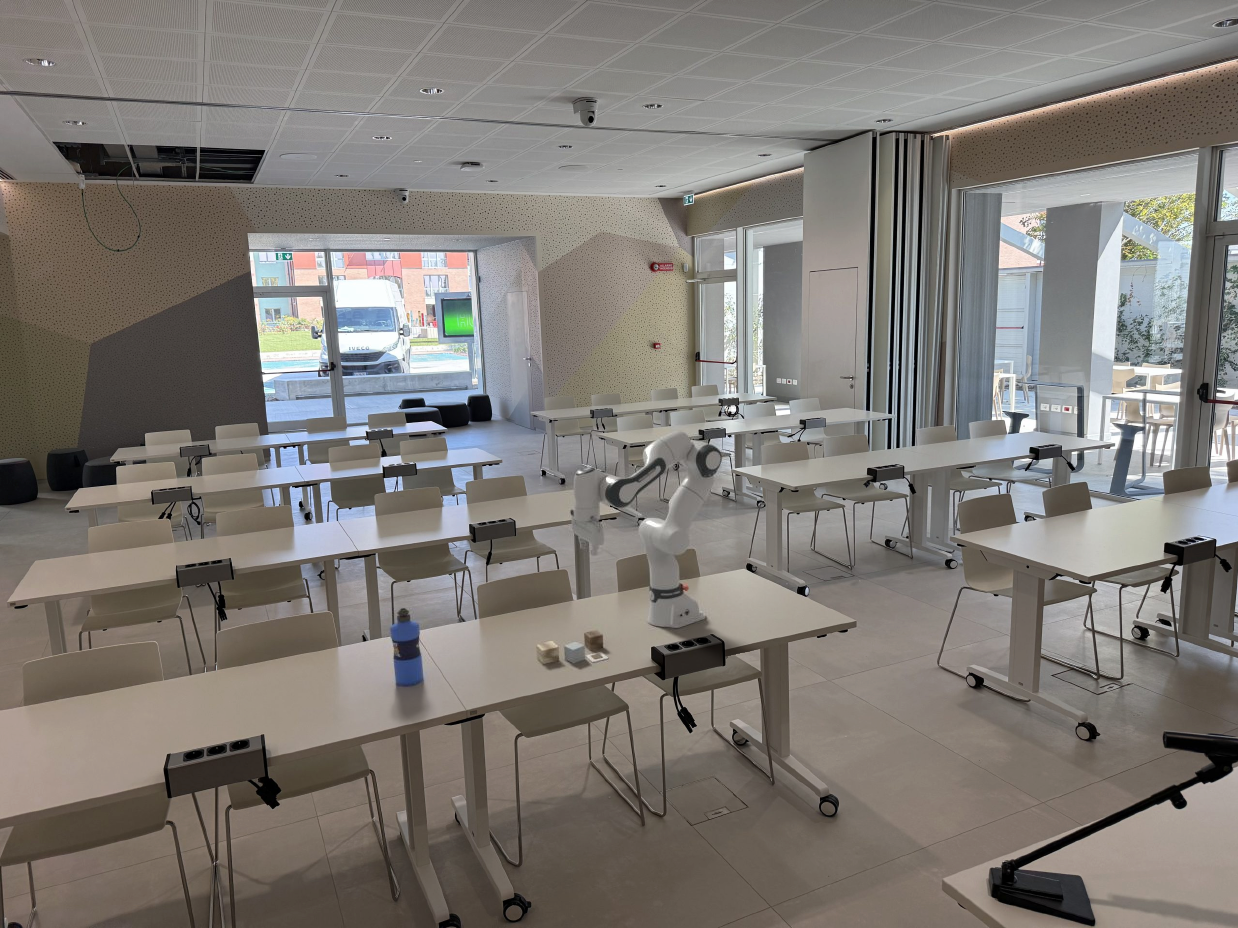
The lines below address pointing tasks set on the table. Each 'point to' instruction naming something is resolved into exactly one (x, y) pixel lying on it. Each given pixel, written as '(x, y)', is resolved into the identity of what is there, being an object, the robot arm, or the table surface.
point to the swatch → (596, 657)
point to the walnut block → (593, 640)
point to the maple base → (547, 652)
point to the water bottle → (406, 650)
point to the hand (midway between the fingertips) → (588, 551)
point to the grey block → (574, 652)
